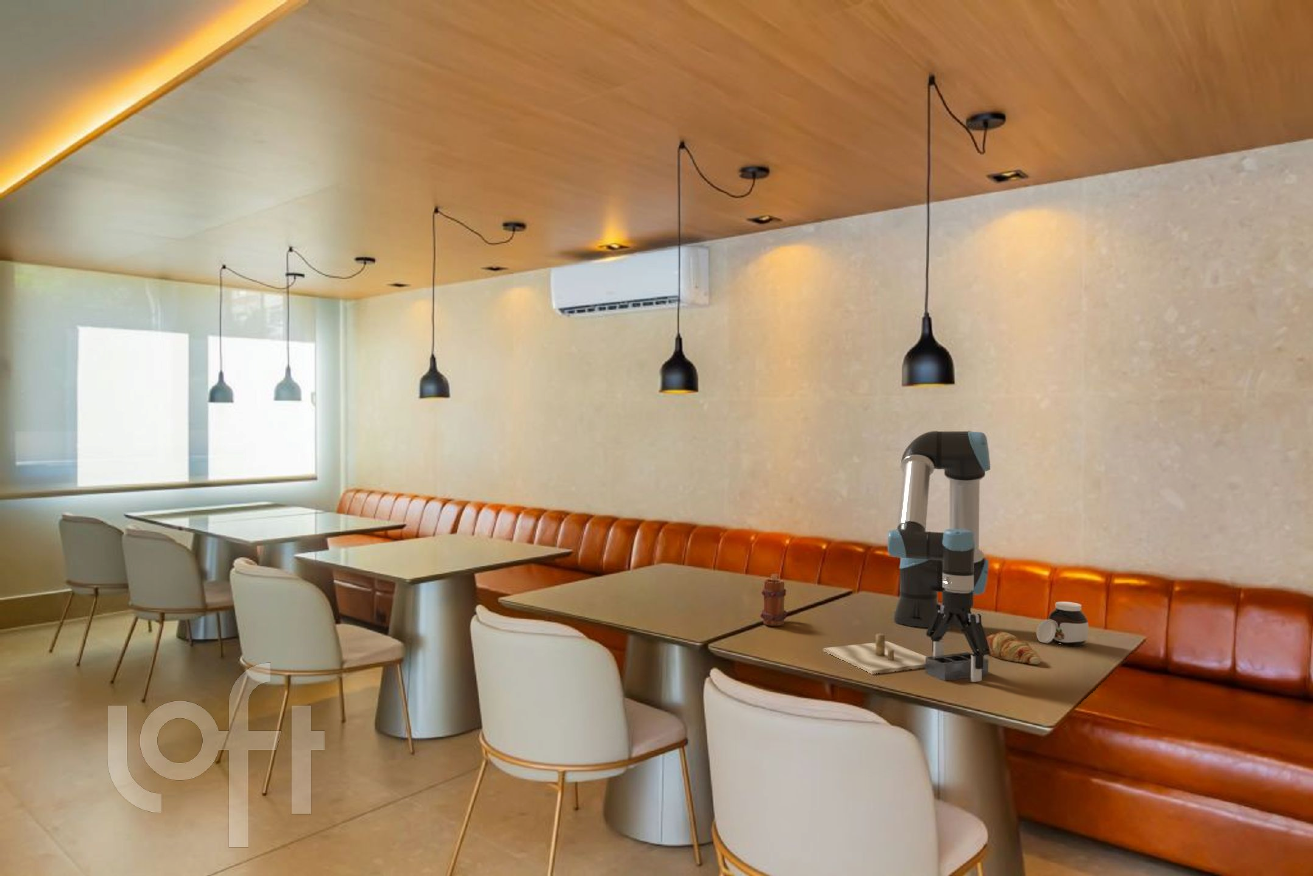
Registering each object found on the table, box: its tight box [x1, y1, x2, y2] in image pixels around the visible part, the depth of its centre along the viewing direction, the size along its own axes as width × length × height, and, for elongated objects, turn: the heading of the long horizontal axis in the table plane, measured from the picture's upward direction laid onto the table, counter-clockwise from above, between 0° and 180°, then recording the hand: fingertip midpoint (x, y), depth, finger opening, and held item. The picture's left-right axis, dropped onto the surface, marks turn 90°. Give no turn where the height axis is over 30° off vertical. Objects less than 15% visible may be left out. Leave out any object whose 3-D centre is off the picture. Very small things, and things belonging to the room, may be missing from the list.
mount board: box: [822, 633, 927, 675], centre depth 214 cm, size 22×22×6 cm
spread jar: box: [1035, 601, 1089, 647], centre depth 232 cm, size 12×11×12 cm
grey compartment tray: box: [924, 651, 989, 682], centre depth 201 cm, size 14×7×4 cm, turn 112°
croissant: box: [984, 631, 1042, 665], centre depth 218 cm, size 21×10×8 cm, turn 28°
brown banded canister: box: [760, 573, 788, 627], centre depth 254 cm, size 15×8×15 cm, turn 168°
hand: (956, 673), depth 201 cm, fingers open, 13 cm apart
